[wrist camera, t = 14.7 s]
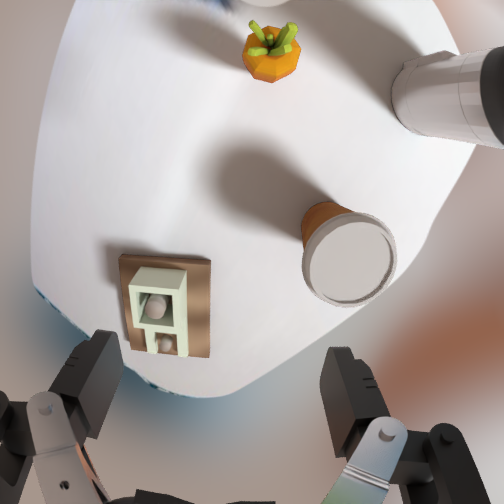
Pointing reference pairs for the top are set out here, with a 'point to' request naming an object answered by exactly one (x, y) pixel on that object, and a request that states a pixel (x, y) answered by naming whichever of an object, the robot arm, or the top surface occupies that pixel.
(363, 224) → the disposable coffee cup
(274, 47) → the carrot
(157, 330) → the hollow square block
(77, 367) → the robot arm
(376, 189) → the top surface
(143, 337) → the post base
